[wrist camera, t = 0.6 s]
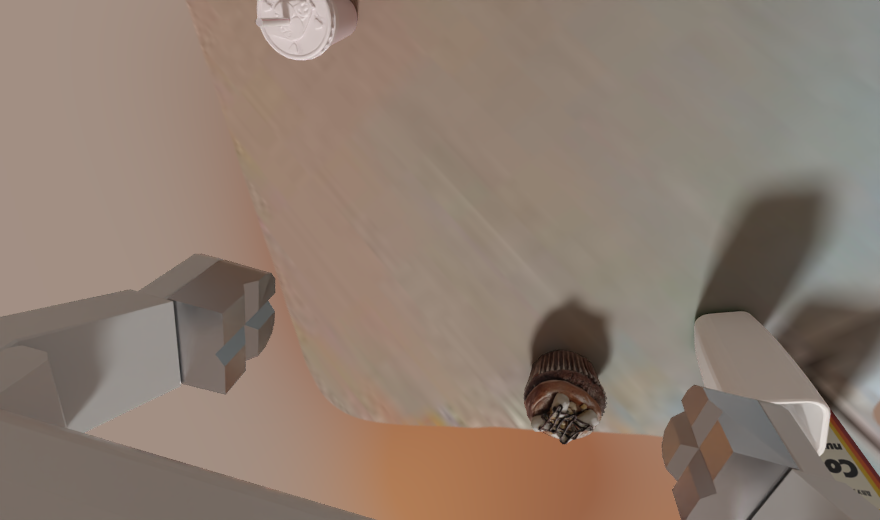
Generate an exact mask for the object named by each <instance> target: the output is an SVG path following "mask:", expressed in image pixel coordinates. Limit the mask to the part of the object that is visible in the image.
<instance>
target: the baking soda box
mask: <svg viewBox="0 0 880 520" xmlns="http://www.w3.org/2000/svg"><path fill="white" fill-rule="evenodd" d="M830 413H831V415H830V422H829V429H828V436H827V444H826V448H825V451H824V453H823V454H822V455H820V458H821V459H822V461H823V462H824V464H825V465H826V467H827V468H828V470H829V471H830V473H831V474H832V476H833V477H834V479H835V480H836V481H839V482H843V483H846V484H847V485H848V486H850V487H851V488H852V489H853V490H855V491H856V492H857V493H859V494H860V495H861V496H862V497H864V498H865V499H866V500H867V501H869V502H870V503H871V504H873V505H874V506H875V507H876V508H878V509H879V510H880V477H879V475H878V474H877V473H876V471H875V470H874V468H873V467H872V466H871V464H870V463H869V462H868V460H867V459H866V457H865V456H864V455H863V453H862V452H861V450H860V449H859V448H858V446H857V445H856V444H855V442H854V441H853V439H852V438H851V437H850V435H849V434H848V433H847V431H846V430H845V428H844V427H843V426H842V424H841V423H840V421H839V420H838V419H837V417H836V416H835V415H834V413H833V412H832V410H831V409H830Z"/></svg>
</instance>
